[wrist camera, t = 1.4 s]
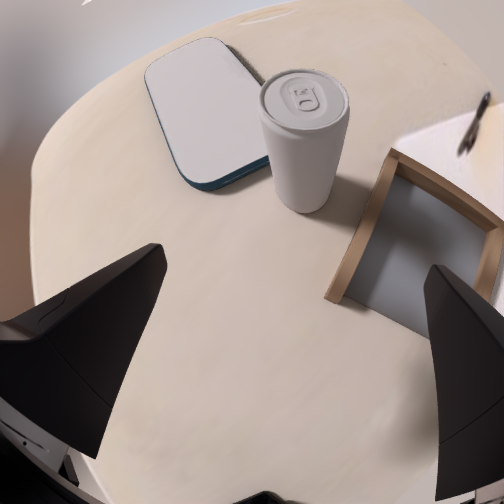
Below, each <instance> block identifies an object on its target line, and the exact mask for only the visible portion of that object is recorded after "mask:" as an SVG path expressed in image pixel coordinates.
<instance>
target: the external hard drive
mask: <svg viewBox="0 0 504 504" xmlns="http://www.w3.org/2000/svg"><path fill="white" fill-rule="evenodd" d="M144 79H145V84H146V86H147V89H148V92H149V95H150V98H151V101H152V103H153V106H154V109H155V112H156V114H157V117H158V120H159V123H160V125H161V128H162V131H163V133H164V136H165V139H166V141H167V144H168V147H169V149H170V152H171V154H172V157H173V160H174V162H175V165H176V167H177V169H178V171H179V173H180V174H181V176H182V177H183V178H184V180H185V181H186V182H187V183H189V184H190V185H191V186H192V187H194V188H196V189H199V190H203V191H210V190H215V189H219V188H221V187H223V186H225V185H228V184H230V183H232V182H234V181H236V180H238V179H240V178H242V177H244V176H246V175H248V174H250V173H252V172H254V171H256V170H258V169H260V168H262V167H264V166H266V165H268V164H270V161H269V156H268V152H267V148H266V143H265V139H264V135H263V131H262V126H261V122H260V118H259V111H258V103H259V97H258V96H259V92H260V89H261V87H262V86H261V85H260V83H259V82H258V81H257V80H256V79H255V77H254V76H253V75H252V74H251V73H250V72H249V70H248V69H247V68H246V67H245V66H244V65H243V64H242V62H241V61H240V60H239V59H238V58H237V57H236V56H235V55H234V54H233V52H232V51H231V50H230V49H229V48H228V47H227V46H226V45H225V44H224V43H223V42H222V41H220V40H218V39H216V38H211V37H209V38H201V39H198V40H195V41H193V42H191V43H188V44H186V45H184V46H182V47H180V48H178V49H176V50H174V51H172V52H170V53H168V54H166V55H164V56H162V57H160V58H159V59H157V60H155V61H154V62H153V63H152V64H151V65H149V67H148V68H147V70H146V72H145V75H144Z"/></svg>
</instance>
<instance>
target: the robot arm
mask: <svg viewBox="0 0 504 504" xmlns="http://www.w3.org/2000/svg"><path fill="white" fill-rule="evenodd" d="M166 271H167V260H166V257H165V253H164V249H163V246H162V245H161V244H156V243H150V244H148V245H146V246H144V247H142V248H140V249H138V250H136V251H134V252H132V253H130V254H128V255H127V256H125V257H123V258H121V259H119V260H117V261H115V262H114V263H112V264H110V265H108V266H106V267H104V268H103V269H101V270H99V271H97V272H95V273H93V274H92V275H90V276H88V277H86V278H85V279H83V280H81V281H79V282H78V283H76V284H74V285H72V286H71V287H70V288H67V289H65V290H64V291H62V292H60V293H59V294H57V295H55V296H53V297H52V298H50V299H48V300H46V301H44V302H43V303H41V304H39V305H37V306H35V307H33V308H31V309H29V310H28V311H26V312H24V313H22V314H20V315H18V316H17V317H15V318H13V319H11V320H7V321H3V322H0V504H104V503H103V502H101V501H99V500H97V499H96V498H94V497H92V496H90V495H89V494H87V493H86V492H84V491H82V490H81V489H79V488H78V485H79V481H78V478H77V475H76V473H75V470H74V467H73V464H72V461H71V458H70V456H69V455H68V454H67V452H68V450H69V448H70V447H72V448H74V449H76V450H77V451H79V452H81V453H83V454H85V455H87V456H89V457H91V458H93V459H96V457H97V454H98V451H99V448H100V445H101V442H102V439H103V435H104V433H105V430H106V427H107V424H108V421H109V418H110V415H111V412H112V408H113V406H114V404H115V401H116V398H117V395H118V393H119V390H120V387H121V385H122V382H123V380H124V377H125V375H126V372H127V369H128V367H129V364H130V362H131V360H132V357H133V355H134V352H135V350H136V347H137V345H138V343H139V340H140V338H141V336H142V333H143V331H144V329H145V326H146V324H147V322H148V320H149V317H150V315H151V313H152V311H153V308H154V306H155V303H156V300H157V297H158V294H159V291H160V289H161V286H162V283H163V280H164V277H165V274H166ZM423 291H424V299H425V306H426V315H427V325H428V332H429V338H430V344H431V350H432V356H433V363H434V371H435V380H436V390H437V402H438V421H439V444H440V445H439V453H438V474H437V475H438V476H437V486H436V496H435V501H440V500H444V499H447V498H451V497H454V496H458V495H461V494H465V493H467V492H471V491H474V490H475V498H473V499H470V500H468V501H465V502H463V503H460V504H504V317H503V316H502V315H501V314H500V313H499V312H498V311H497V310H496V309H495V308H494V307H493V306H491V305H490V304H489V303H488V302H487V301H486V300H485V299H484V298H483V297H482V296H480V295H479V294H478V293H477V292H476V291H475V290H474V289H472V288H471V287H470V286H469V285H468V284H467V283H465V282H464V281H463V280H462V279H461V278H459V277H458V276H457V275H456V274H455V273H453V272H452V271H451V270H450V269H448V268H447V267H446V266H445V265H443V264H433V265H432V266H431V267H430V269H429V272H428V275H427V277H426V280H425V282H424V286H423ZM263 495H266V496H263ZM233 504H284V503H283V502H280V501H279V500H278V499H276V498H275V497H274V496H272V495H271V494H270V493H269V492H266V491H263V492H260V493H258V494H256V495H253V496H251V497H248V498H246V499H244V500H241V501H239V502H236V503H233Z"/></svg>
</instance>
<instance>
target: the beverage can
mask: <svg viewBox="0 0 504 504" xmlns="http://www.w3.org/2000/svg"><path fill="white" fill-rule="evenodd" d="M258 97H259V103H258V111H259V118H260V122H261V126H262V131H263V135H264V139H265V143H266V148H267V152H268V156H269V161H270V165H271V170H272V175H273V179H274V184H275V189H276V193H277V195H278V197H279V199H280V200H281V201H282V203H283V204H284V205H285V206H287V207H288V208H289V209H291V210H293V211H295V212H299V213H310V212H313V211H316V210H318V209H319V208H321V207H322V206H323V205H324V204H325V203H326V201H327V199H328V197H329V195H330V191H331V187H332V184H333V180H334V177H335V174H336V170H337V167H338V163H339V160H340V156H341V152H342V148H343V143H344V139H345V135H346V130H347V126H348V121H349V113H350V107H349V97H348V95H347V92H346V90H345V88H344V87H343V86H342V84H341V83H340V82H338V81H337V80H336V79H335V78H334V77H332V76H330V75H328V74H326V73H324V72H321V71H317V70H314V69H305V68H299V69H290V70H286V71H282V72H280V73H277V74H275V75H273V76H272V77H271V78H269V79H268V80H267V81H266V82H265V83H264V84H263V86H262V87H261V89H260V92H259V96H258Z"/></svg>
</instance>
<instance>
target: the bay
mask: <svg viewBox="0 0 504 504" xmlns="http://www.w3.org/2000/svg"><path fill="white" fill-rule="evenodd" d="M503 240H504V221H503V220H501V219H500V218H499V217H498V216H497V215H495V214H494V213H493V212H492V211H490V210H489V209H488V208H486V207H485V206H484V205H482V204H481V203H480V202H478V201H477V200H476V199H474V198H473V197H472V196H470V195H469V194H467V193H466V192H465V191H463V190H462V189H460V188H459V187H457V186H456V185H454V184H453V183H451V182H450V181H448V180H447V179H445V178H444V177H442V176H440V175H439V174H437V173H436V172H434V171H432V170H431V169H429V168H427V167H426V166H424V165H422V164H420V163H419V162H417V161H415V160H413V159H412V158H410V157H408V156H406V155H404V154H402V153H401V152H399V151H397V150H395V149H393V148H391V149H390V151H389V153H388V155H387V157H386V159H385V160H384V163H383V166H382V168H381V171H380V173H379V176H378V179H377V181H376V184H375V186H374V189H373V191H372V194H371V196H370V199H369V201H368V204H367V206H366V209H365V211H364V213H363V216H362V218H361V220H360V223H359V225H358V227H357V229H356V232H355V234H354V236H353V238H352V241H351V243H350V245H349V247H348V249H347V251H346V254H345V256H344V258H343V260H342V262H341V264H340V266H339V268H338V270H337V272H336V274H335V276H334V278H333V280H332V282H331V284H330V286H329V288H328V290H327V292H326V294H325V296H324V298H325V299H326V300H328V301H330V302H332V303H334V304H336V303H339V302H340V300H341V298H342V296H343V294H344V295H346V296H348V297H349V298H351V299H353V300H355V301H357V302H359V303H361V304H363V305H365V306H367V307H369V308H371V309H372V310H374V311H376V312H378V313H380V314H382V315H384V316H386V317H388V318H390V319H392V320H393V321H395V322H397V323H399V324H401V325H403V326H405V327H407V328H409V329H411V330H412V331H414V332H416V333H418V334H420V335H422V336H424V337H426V338H428V339H430V338H429V332H428V325H427V315H426V306H425V299H424V291H423V286H424V282H425V280H426V277H427V275H428V272H429V269H430V267H431V266H432V265H433V264H443V265H445V266H446V267H447V268H448V269H450V270H451V271H452V272H453V273H455V274H456V275H457V276H458V277H459V278H461V279H462V280H463V281H464V282H465V283H467V284H468V285H469V286H470V287H471V288H472V289H474V290H475V291H476V292H477V293H478V294H479V295H480V296H482V297H483V298H484V299H485V300H486V301H487V302H488V303H489V300H490V296H491V293H492V289H493V286H494V282H495V278H496V274H497V270H498V266H499V261H500V256H501V251H502V246H503Z"/></svg>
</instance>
